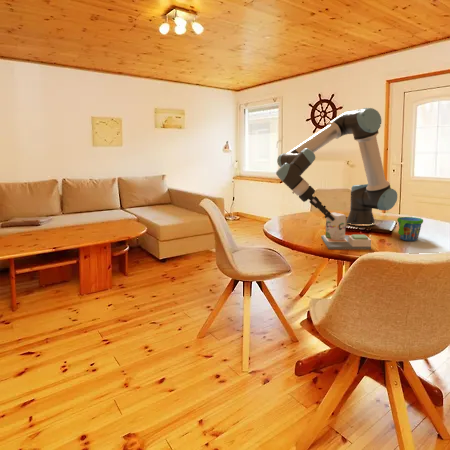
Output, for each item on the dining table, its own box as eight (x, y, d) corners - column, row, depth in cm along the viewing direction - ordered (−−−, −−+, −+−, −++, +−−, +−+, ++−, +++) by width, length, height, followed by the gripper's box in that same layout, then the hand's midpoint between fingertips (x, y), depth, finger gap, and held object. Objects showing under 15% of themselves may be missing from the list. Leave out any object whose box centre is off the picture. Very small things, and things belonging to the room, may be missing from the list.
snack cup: (408, 235, 178) (410, 215, 176) (429, 239, 169) (431, 218, 167) (388, 239, 171) (389, 218, 169) (408, 244, 162) (410, 222, 160)
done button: (364, 239, 162) (364, 234, 161) (367, 242, 156) (368, 237, 156) (351, 239, 163) (351, 234, 162) (354, 242, 157) (354, 237, 157)
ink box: (325, 237, 174) (325, 213, 171) (333, 235, 176) (333, 212, 173) (337, 240, 166) (338, 215, 164) (345, 239, 168) (346, 214, 166)
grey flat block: (358, 237, 176) (359, 229, 175) (371, 249, 156) (371, 239, 155) (321, 237, 178) (321, 229, 177) (328, 249, 158) (329, 240, 157)
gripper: (295, 193, 180) (325, 222, 182) (300, 200, 156) (334, 233, 158) (306, 182, 179) (336, 211, 180) (313, 187, 155) (347, 221, 156)
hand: (335, 221), depth 169 cm, fingers open, 13 cm apart
